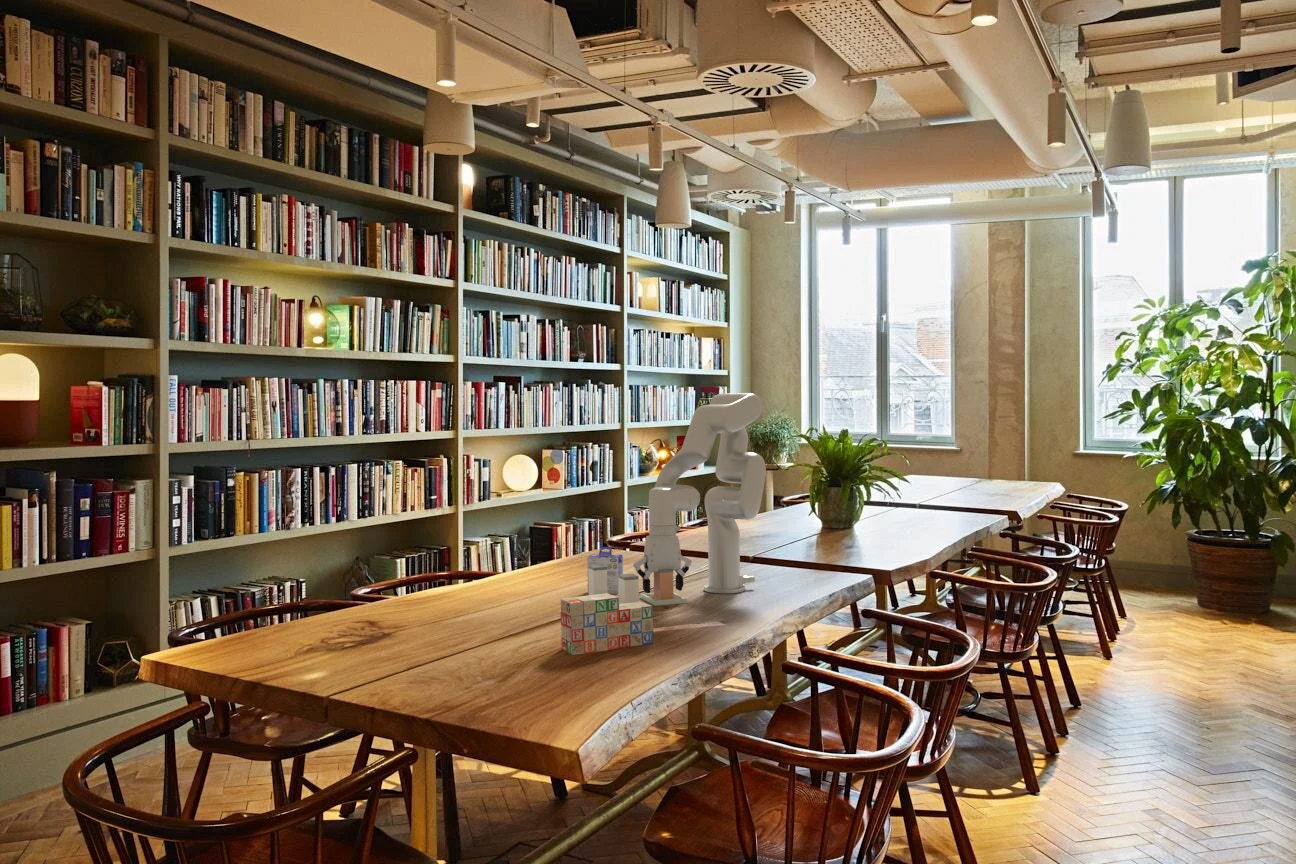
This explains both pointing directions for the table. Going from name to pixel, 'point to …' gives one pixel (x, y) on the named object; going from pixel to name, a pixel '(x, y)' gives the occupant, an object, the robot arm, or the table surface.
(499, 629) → the table surface
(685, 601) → the tray
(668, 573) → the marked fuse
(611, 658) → the table surface
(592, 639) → the stack of blocks
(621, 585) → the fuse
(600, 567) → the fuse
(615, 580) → the ink cartridge box
